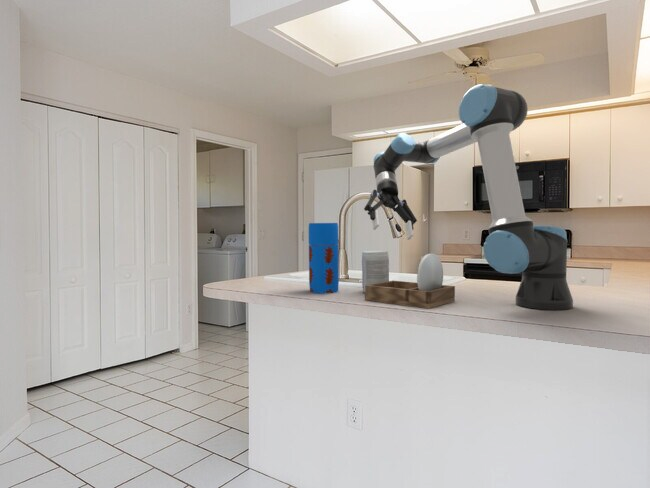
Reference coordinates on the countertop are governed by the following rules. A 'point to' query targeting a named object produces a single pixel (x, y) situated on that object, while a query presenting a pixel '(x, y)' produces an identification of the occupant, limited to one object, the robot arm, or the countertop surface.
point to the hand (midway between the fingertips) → (393, 232)
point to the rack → (409, 294)
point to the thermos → (323, 257)
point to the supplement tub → (374, 267)
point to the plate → (430, 273)
